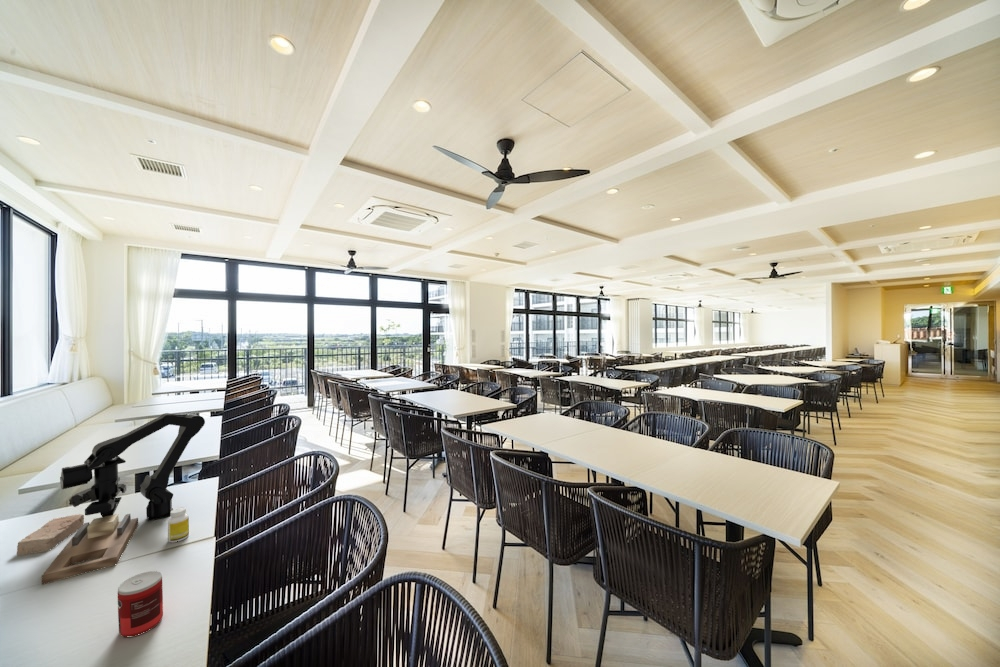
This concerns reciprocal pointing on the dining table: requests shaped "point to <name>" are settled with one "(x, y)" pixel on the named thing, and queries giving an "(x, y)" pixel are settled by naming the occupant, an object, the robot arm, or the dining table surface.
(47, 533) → the brick
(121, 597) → the canned food
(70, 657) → the dining table surface
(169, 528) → the supplement bottle
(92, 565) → the lane board
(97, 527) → the block
